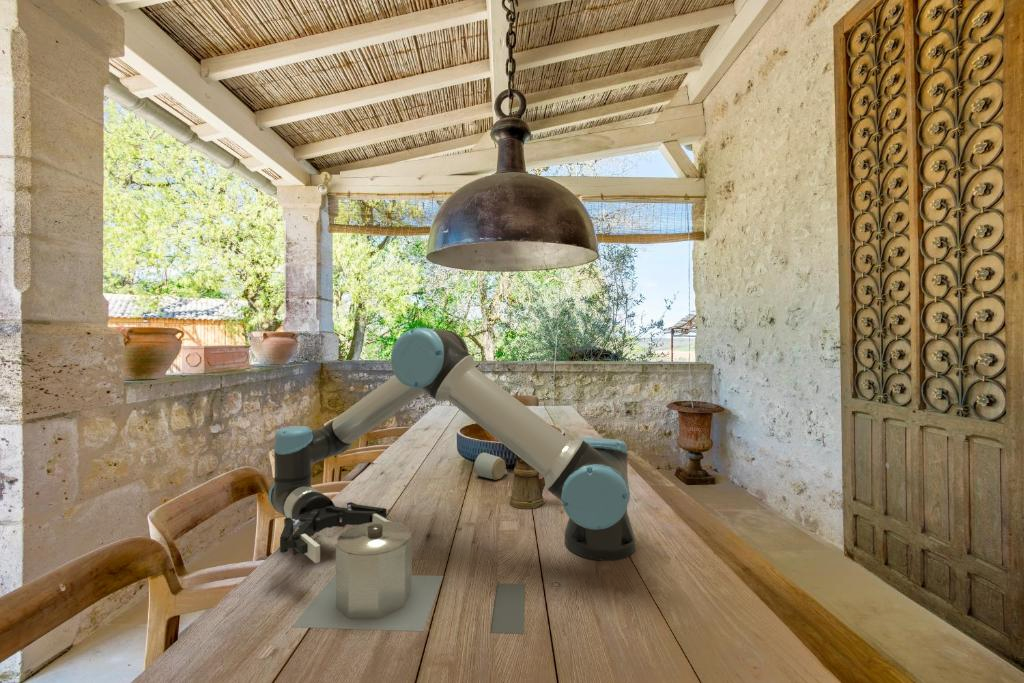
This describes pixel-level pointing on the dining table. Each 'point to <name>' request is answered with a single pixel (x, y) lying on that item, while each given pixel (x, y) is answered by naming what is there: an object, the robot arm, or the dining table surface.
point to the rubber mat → (508, 609)
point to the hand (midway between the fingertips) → (356, 541)
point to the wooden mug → (526, 487)
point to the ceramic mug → (490, 466)
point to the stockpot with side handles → (373, 569)
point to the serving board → (405, 619)
